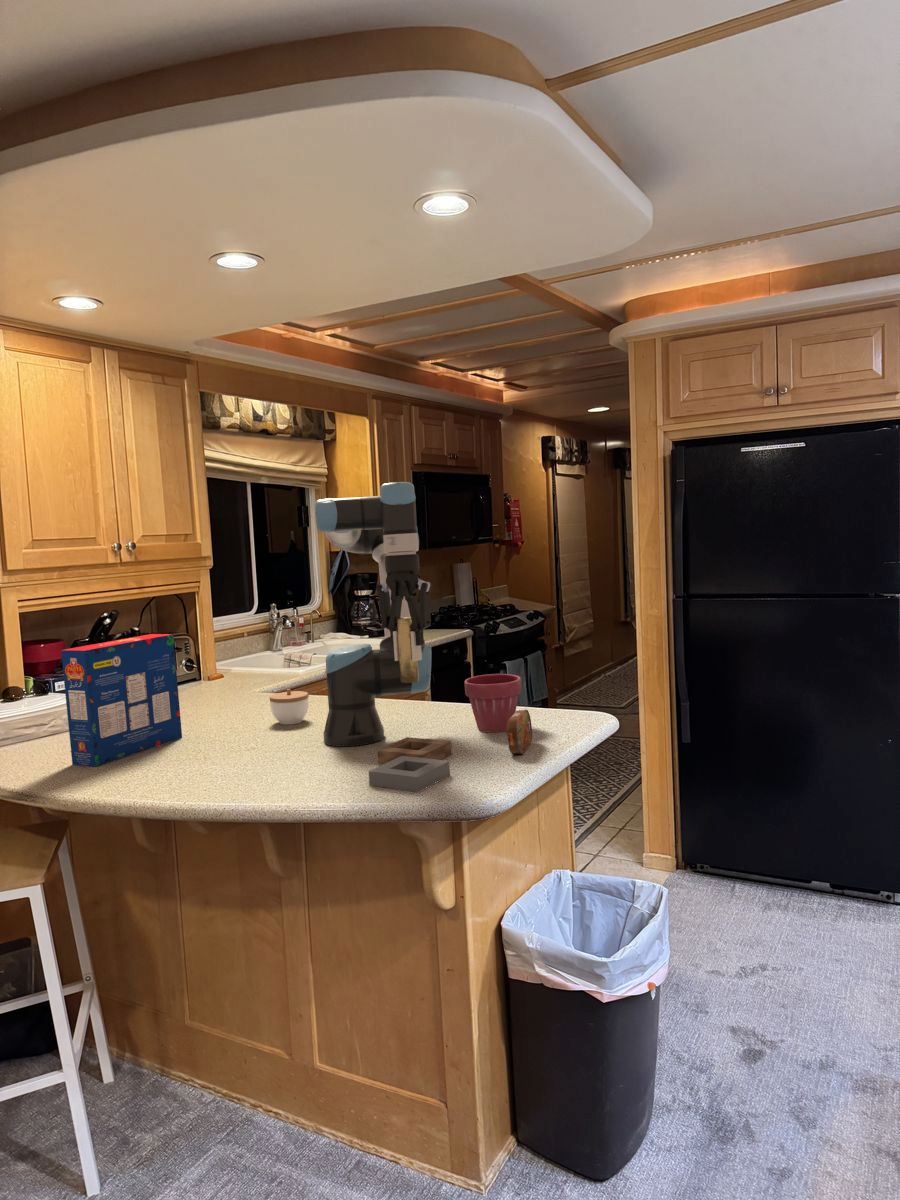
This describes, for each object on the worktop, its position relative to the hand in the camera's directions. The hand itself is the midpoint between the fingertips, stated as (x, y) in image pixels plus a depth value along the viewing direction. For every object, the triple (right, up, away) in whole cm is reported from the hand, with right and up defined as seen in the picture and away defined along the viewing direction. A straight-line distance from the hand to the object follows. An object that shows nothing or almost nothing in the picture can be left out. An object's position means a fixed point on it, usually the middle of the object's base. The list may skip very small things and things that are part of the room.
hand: (408, 659), depth 182 cm
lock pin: (0, -5, 0) cm, 5 cm away
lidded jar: (-35, -21, +50) cm, 65 cm away
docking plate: (+1, -24, -11) cm, 27 cm away
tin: (+25, -21, +8) cm, 34 cm away
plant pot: (+21, -20, +29) cm, 41 cm away
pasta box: (-72, -25, +28) cm, 81 cm away
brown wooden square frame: (+1, -23, +5) cm, 23 cm away
